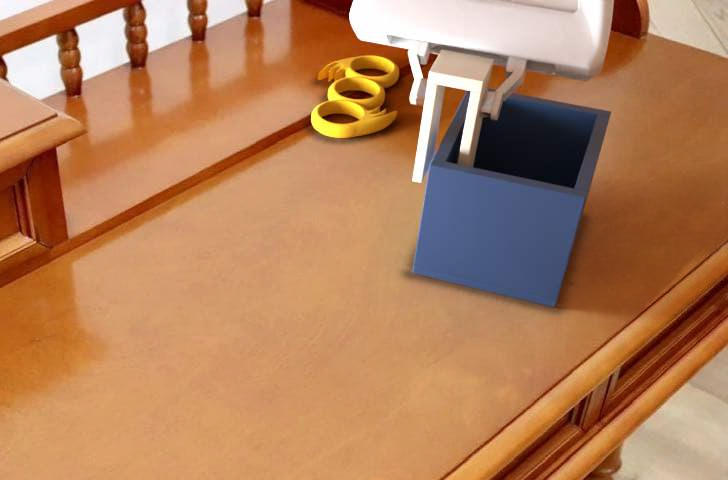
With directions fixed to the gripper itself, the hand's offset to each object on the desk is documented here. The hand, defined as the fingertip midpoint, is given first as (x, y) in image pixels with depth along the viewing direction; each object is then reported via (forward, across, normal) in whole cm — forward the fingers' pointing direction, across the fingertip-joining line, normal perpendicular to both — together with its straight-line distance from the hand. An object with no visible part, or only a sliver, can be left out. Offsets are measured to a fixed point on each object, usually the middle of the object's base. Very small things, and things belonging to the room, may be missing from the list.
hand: (453, 110), depth 87 cm
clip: (+4, 0, +5) cm, 6 cm away
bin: (+8, +6, +11) cm, 15 cm away
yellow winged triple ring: (-6, -14, +25) cm, 29 cm away
